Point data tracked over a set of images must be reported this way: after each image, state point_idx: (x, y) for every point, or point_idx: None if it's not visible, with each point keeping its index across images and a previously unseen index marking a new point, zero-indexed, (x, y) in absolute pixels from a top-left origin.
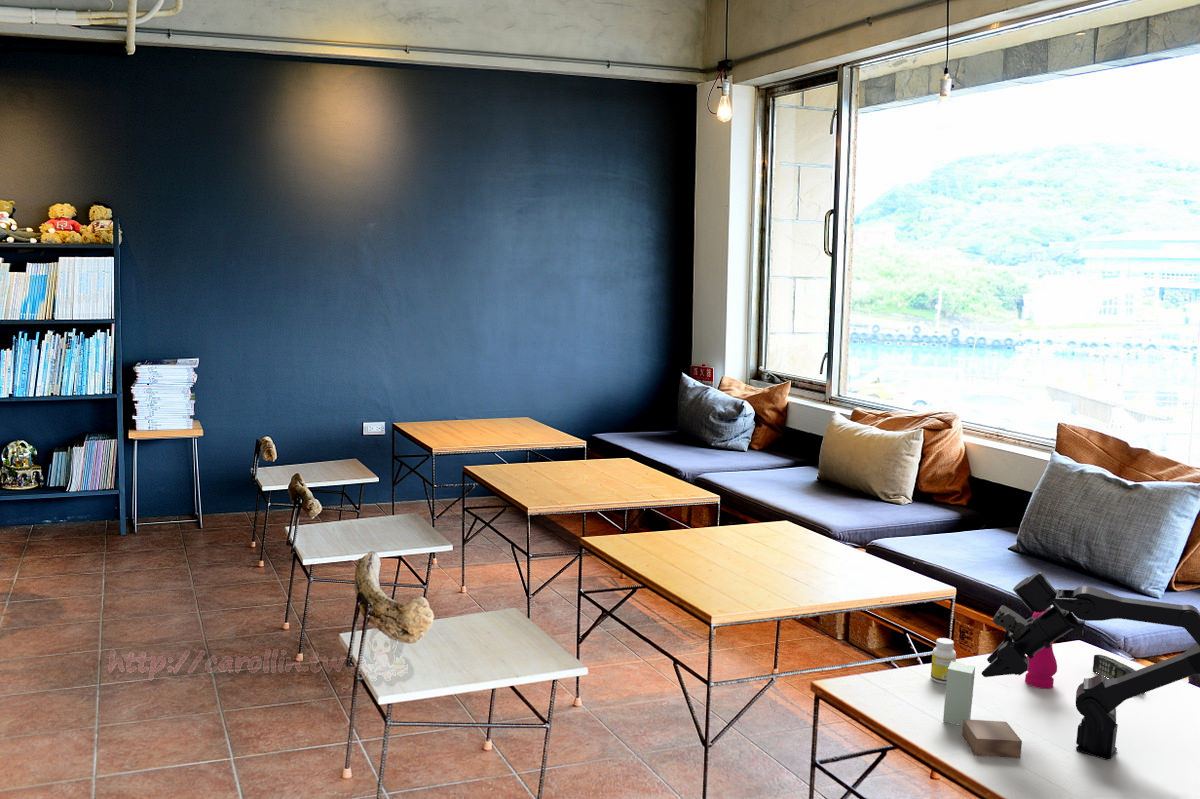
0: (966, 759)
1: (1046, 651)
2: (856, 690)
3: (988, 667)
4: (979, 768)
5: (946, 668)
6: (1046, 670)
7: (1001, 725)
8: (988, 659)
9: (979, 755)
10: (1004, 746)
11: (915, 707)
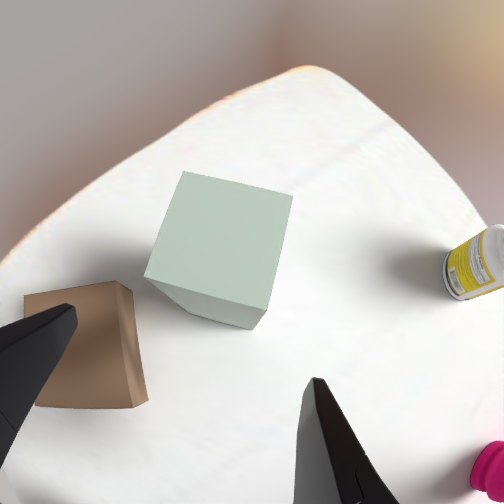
0: (32, 281)
1: None
2: (318, 104)
3: (17, 323)
4: (8, 299)
5: (466, 269)
6: (493, 490)
7: (101, 384)
8: (310, 386)
9: None
10: None
11: None
